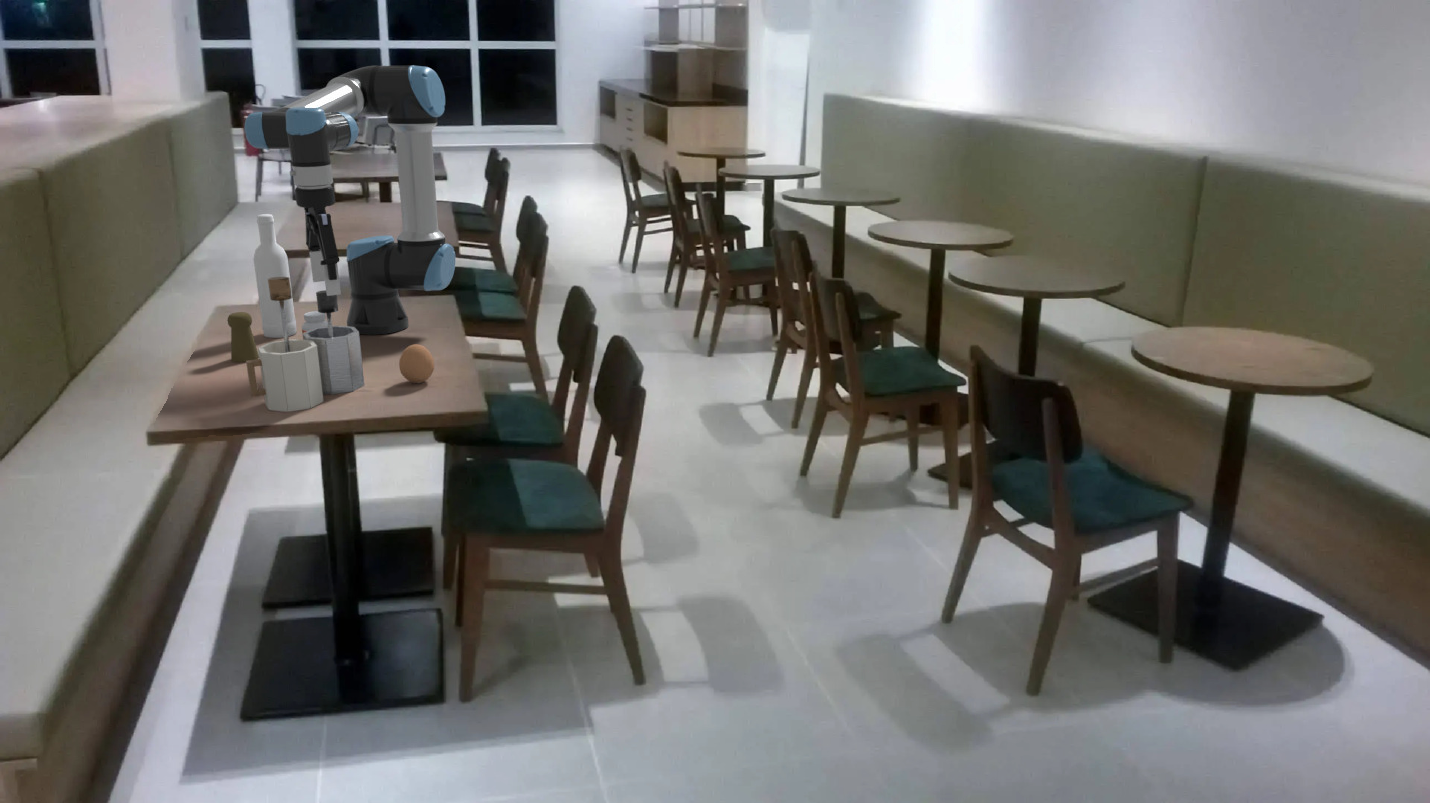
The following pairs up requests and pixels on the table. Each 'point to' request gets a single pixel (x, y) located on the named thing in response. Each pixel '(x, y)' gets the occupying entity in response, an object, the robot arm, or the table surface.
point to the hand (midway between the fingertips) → (326, 288)
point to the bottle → (268, 265)
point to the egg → (416, 364)
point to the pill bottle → (314, 321)
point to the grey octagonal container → (338, 358)
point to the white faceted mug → (287, 375)
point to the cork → (242, 338)
